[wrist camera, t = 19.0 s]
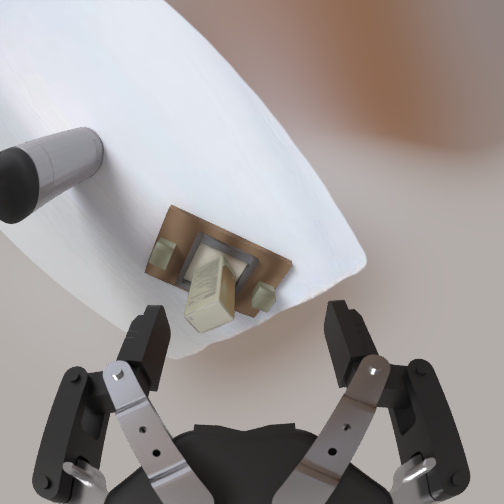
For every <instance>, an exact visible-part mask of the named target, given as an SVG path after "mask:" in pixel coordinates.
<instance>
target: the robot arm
mask: <svg viewBox="0 0 504 504" xmlns="http://www.w3.org/2000/svg"><path fill="white" fill-rule="evenodd" d="M102 158H103V147H102V143H101V140H100V138H99V137H98V135H97V134H96V133H95V132H94V131H93V130H91V129H89V128H85V127H80V128H76V129H72V130H67V131H63V132H59V133H55V134H52V135H48V136H45V137H41V138H38V139H35V140H31V141H28V142H25V143H23V144H20V145H17V146H14V147H11V148H8V149H6V150H3V151H1V152H0V220H1V221H3V222H5V223H8V224H15V223H18V222H20V221H22V220H23V219H25V218H26V217H27V216H29V215H30V214H31V213H33V212H34V211H36V210H37V209H39V208H40V207H42V206H43V205H44V204H46V203H47V202H49V201H50V200H52V199H53V198H55V197H57V196H58V195H60V194H61V193H63V192H65V191H66V190H68V189H70V188H71V187H73V186H75V185H76V184H78V183H80V182H82V181H83V180H85V179H87V178H89V177H90V176H92V175H93V174H94V173H96V171H97V170H98V169H99V167H100V165H101V162H102ZM324 333H325V338H326V342H327V345H328V349H329V352H330V356H331V359H332V363H333V366H334V370H335V374H336V378H337V382H338V385H339V388H342V387H347V390H346V392H345V394H344V395H343V396H342V398H341V400H340V401H339V403H338V405H337V406H336V408H335V410H334V412H333V413H332V415H331V417H330V418H329V420H328V421H327V423H326V425H325V426H324V428H323V430H322V431H321V433H320V434H319V436H316V435H314V434H312V433H310V432H307V431H304V430H300V429H295V423H290V424H276V425H268V426H264V427H261V428H256V429H252V430H248V431H240V430H235V429H231V428H226V427H222V426H217V425H215V426H213V425H196V424H195V425H194V430H193V431H188V432H185V433H182V434H180V435H178V436H176V437H174V438H173V437H172V435H171V434H170V432H169V431H168V429H167V428H166V426H165V425H164V423H163V422H162V420H161V418H160V417H159V415H158V413H157V412H156V410H155V408H154V407H153V405H152V403H151V401H150V400H149V398H148V395H149V391H157V390H158V386H159V381H160V377H161V373H162V369H163V365H164V361H165V357H166V353H167V349H168V345H169V341H170V335H171V332H170V326H169V323H168V320H167V316H166V313H165V309H164V307H163V306H162V305H148V306H147V307H146V310H145V312H144V315H138V316H137V317H136V318H135V319H134V320H133V321H132V323H131V325H130V328H129V331H128V332H127V335H126V338H125V340H124V342H123V344H122V347H121V350H120V352H119V355H118V357H117V360H116V361H114V362H111V363H110V364H108V365H107V366H106V367H105V369H104V371H101V372H94V373H87V372H86V370H85V369H84V368H82V367H78V366H76V367H72V368H70V369H69V370H67V372H66V373H65V374H64V376H63V379H62V381H61V384H60V386H59V389H58V392H57V394H56V397H55V400H54V403H53V406H52V409H51V412H50V414H49V417H48V420H47V424H46V427H45V430H44V433H43V437H42V440H41V444H40V448H39V452H38V456H37V459H36V464H35V468H34V473H33V478H32V483H33V487H34V489H35V491H36V492H37V494H39V495H40V496H41V497H43V498H45V499H47V500H50V501H52V502H54V503H55V504H437V503H440V502H442V501H445V500H447V499H450V498H452V497H454V496H456V495H459V494H460V493H462V492H463V491H464V490H465V489H466V488H467V486H468V484H469V481H470V471H469V467H468V464H467V460H466V456H465V453H464V449H463V446H462V443H461V440H460V436H459V433H458V430H457V428H456V425H455V422H454V419H453V416H452V413H451V411H450V408H449V405H448V403H447V400H446V397H445V395H444V392H443V390H442V388H441V385H440V383H439V380H438V378H437V376H436V373H435V371H434V369H433V367H432V365H431V364H430V363H429V362H427V361H426V360H423V359H415V360H412V361H411V362H410V363H409V365H408V366H400V365H392V364H389V362H388V361H387V360H386V359H385V358H384V357H382V356H379V354H378V352H377V350H376V348H375V345H374V343H373V341H372V338H371V336H370V334H369V332H368V330H367V327H366V325H365V323H364V321H363V318H362V316H361V315H360V314H359V313H358V312H357V311H356V310H355V309H351V310H349V309H348V307H347V304H346V303H345V300H335V301H329V302H328V306H327V311H326V316H325V322H324ZM377 407H386V408H388V410H389V414H390V417H391V421H392V425H393V429H394V433H395V437H396V442H397V446H398V451H399V455H400V460H401V466H400V467H399V468H398V469H397V470H396V472H395V474H394V478H393V487H392V489H391V491H390V492H388V491H387V490H386V489H385V488H384V487H383V486H381V485H380V484H378V483H377V482H376V481H374V480H373V479H371V478H370V477H369V476H367V475H366V474H365V473H363V472H362V471H361V470H359V469H358V468H357V467H355V466H354V465H353V464H352V463H350V461H351V459H352V457H353V456H354V454H355V452H356V450H357V448H358V446H359V445H360V442H361V441H362V439H363V437H364V434H365V432H366V430H367V429H368V427H369V424H370V422H371V420H372V418H373V416H374V413H375V411H376V408H377ZM113 412H115V414H116V417H117V419H118V421H119V423H120V425H121V428H122V430H123V432H124V434H125V436H126V438H127V440H128V442H129V443H130V446H131V448H132V450H133V451H134V453H135V455H136V457H137V458H138V461H139V462H140V464H141V467H139V468H138V469H137V470H136V471H135V472H134V473H132V474H131V475H130V476H129V477H127V478H126V479H125V480H124V481H122V482H121V483H120V484H119V485H118V486H116V487H115V488H114V489H112V490H111V491H110V492H109V493H108V491H107V489H106V480H105V477H104V475H103V474H102V473H101V472H100V471H99V468H100V462H101V455H102V450H103V444H104V440H105V435H106V430H107V425H108V421H109V417H110V413H113Z"/></svg>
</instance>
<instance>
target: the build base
mask: <svg viewBox="0 0 504 504" xmlns="http://www.w3.org/2000/svg"><path fill="white" fill-rule="evenodd" d="M221 256H224V257H225V259H226V260H227V262H228V263H229V264H230V266H231V267H232V269H233V271H234V272H235V306H234V311H237V312H240V313H242V314H245V315H247V316H250V317H253V318H254V317H255V316H256V315H257V313H258V312H259V311H260V310H262V311H265V312H268V310H269V309H270V308H271V306H272V305H273V304H274V302H275V301H276V299H275V291H274V290H275V289H276V287H277V286H278V285H279V283H280V282H281V280H282V279H283V278H284V276H285V275H286V274H287V272H288V271H289V269H290V268H291V267H292V262H291V261H290V260H288V259H286V258H284V257H282V256H280V255H278V254H276V253H274V252H271V251H269V250H267V249H265V248H263V247H261V246H259V245H257V244H255V243H252V242H250V241H248V240H246V239H244V238H242V237H240V236H237V235H235V234H233V233H231V232H229V231H227V230H225V229H223V228H220V227H218V226H216V225H214V224H212V223H210V222H207V221H205V220H203V219H201V218H199V217H197V216H195V215H192V214H190V213H188V212H186V211H184V210H182V209H179V208H177V207H175V206H173V205H171V206H170V207H169V209H168V212H167V214H166V217H165V219H164V222H163V224H162V227H161V229H160V232H159V234H158V237H157V239H156V242H155V245H154V247H153V250H152V253H151V256H150V258H149V261H148V264H147V267H146V270H145V273H147V274H149V275H151V276H153V277H156V278H158V279H160V280H162V281H165V282H167V283H169V284H171V285H174V286H176V287H178V288H181V289H183V290H185V291H188V292H189V291H190V286H191V282H192V278H193V274H194V271H195V270H196V269H198V268H200V267H202V266H203V265H205V264H207V263H209V262H211V261H213V260H215V259H217V258H219V257H221Z"/></svg>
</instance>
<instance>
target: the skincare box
mask: <svg viewBox="0 0 504 504" xmlns="http://www.w3.org/2000/svg"><path fill="white" fill-rule="evenodd" d="M234 306H235V272H234V271H233V269H232V267H231V266H230V264H229V263H228V262H227V260H226V259H225V257H224V256H221V257H219V258H217V259H215V260H213V261H211V262H209V263H207V264H205V265H203V266H202V267H200V268H198V269H196V270H195V271H194V274H193V278H192V282H191V286H190V291H189V295H188V299H187V303H186V307H185V312H184V318H185V319H186V320H187V321H188V322H189V323H190V324H191V325H192V326H193V327H194V328H195V329H196V330H197V331H198V332H199V333H200V334H202V333H205V332H208V331H210V330H213V329H215V328H218V327H220V326H222V325H225V324H227V323H229V322H231V321H233V320H234Z"/></svg>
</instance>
